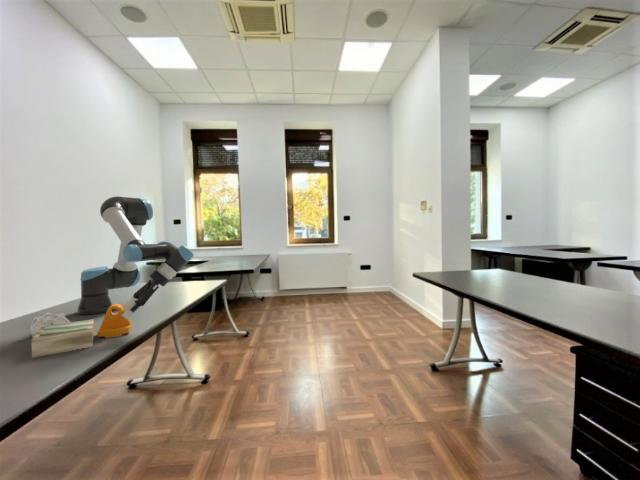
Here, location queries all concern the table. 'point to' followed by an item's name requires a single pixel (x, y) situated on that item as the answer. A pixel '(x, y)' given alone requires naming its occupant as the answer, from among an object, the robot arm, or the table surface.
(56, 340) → the riser stand
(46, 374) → the table surface
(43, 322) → the white bone skull
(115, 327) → the bracket
